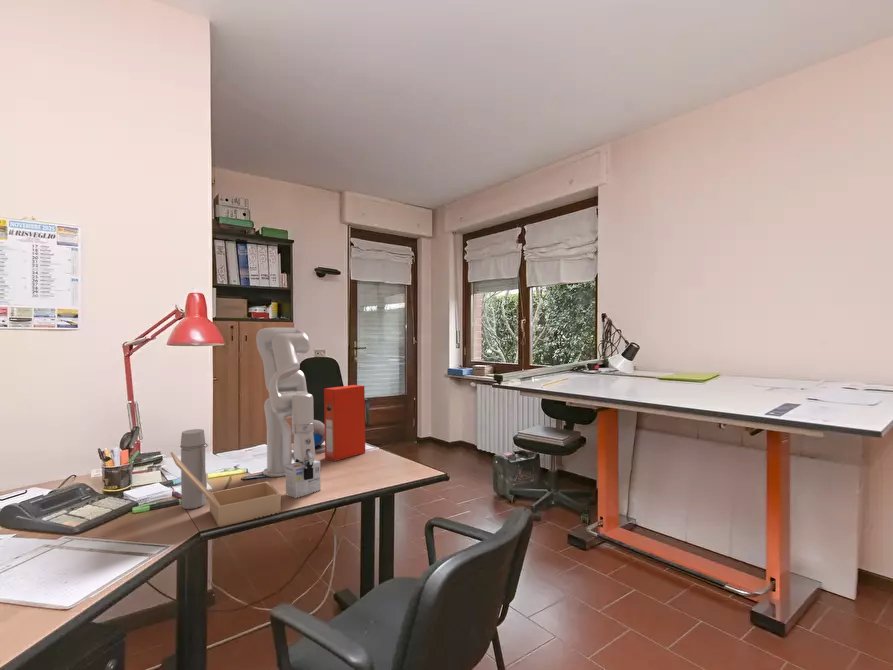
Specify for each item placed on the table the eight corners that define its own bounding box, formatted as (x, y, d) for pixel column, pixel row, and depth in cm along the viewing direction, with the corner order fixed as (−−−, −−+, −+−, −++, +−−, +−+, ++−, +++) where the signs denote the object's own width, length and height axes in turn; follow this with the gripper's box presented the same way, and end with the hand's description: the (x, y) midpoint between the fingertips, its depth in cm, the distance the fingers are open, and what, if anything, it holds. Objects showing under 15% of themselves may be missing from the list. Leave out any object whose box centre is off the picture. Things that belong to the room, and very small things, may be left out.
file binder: (324, 458, 206) (324, 388, 206) (354, 450, 220) (353, 384, 219) (335, 461, 201) (335, 389, 201) (365, 453, 215) (364, 385, 214)
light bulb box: (310, 486, 169) (310, 457, 169) (321, 490, 165) (321, 461, 164) (284, 494, 161) (284, 464, 160) (295, 499, 156) (295, 468, 156)
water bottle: (175, 508, 148) (174, 432, 148) (196, 500, 156) (195, 428, 155) (195, 512, 145) (194, 435, 145) (216, 503, 152) (215, 429, 152)
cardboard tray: (209, 511, 146) (209, 492, 146) (267, 498, 157) (267, 481, 157) (218, 527, 134) (218, 507, 134) (280, 512, 145) (280, 493, 145)
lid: (209, 491, 146) (207, 493, 146) (171, 451, 140) (170, 453, 139) (218, 506, 134) (216, 507, 134) (177, 462, 128) (175, 464, 127)
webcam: (323, 446, 228) (323, 416, 228) (330, 452, 217) (330, 421, 216) (297, 449, 221) (296, 419, 221) (302, 456, 210) (302, 423, 210)
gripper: (322, 430, 157) (322, 479, 157) (305, 423, 171) (305, 468, 171) (300, 433, 153) (301, 484, 153) (285, 426, 167) (285, 472, 167)
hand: (303, 475), depth 162 cm, fingers open, 9 cm apart
